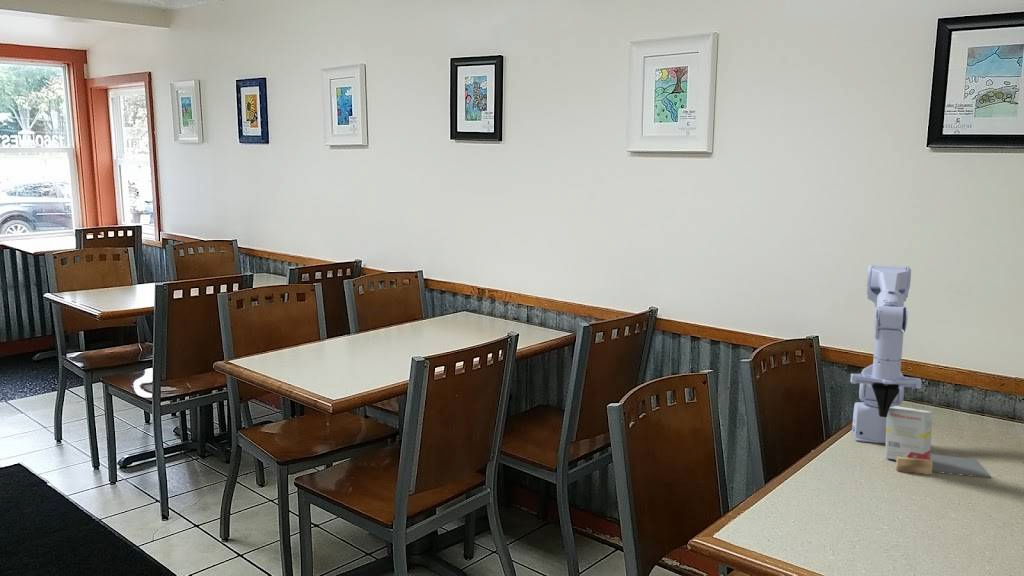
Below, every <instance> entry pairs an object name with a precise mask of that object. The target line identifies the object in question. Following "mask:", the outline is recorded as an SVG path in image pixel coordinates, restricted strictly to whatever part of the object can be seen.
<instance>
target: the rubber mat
mask: <svg viewBox="0 0 1024 576" xmlns="http://www.w3.org/2000/svg"><path fill="white" fill-rule="evenodd" d="M930 460H932V461H933V466H932V471H934V472H933V473H936V472H944V473H943V474H945V473H952V474H951V475H955V474H962V475H961V476H965V475H972V476H971V477H975V476H978V477H977V478H985V477H986V478H985V479H987V478H988V479H991V477H992V476H991V475H990V473H989V472H988V471H987V470H986V469H985V467H984V466H983V465H982V464H981V463H980V461H978V459H977V458H972V457H964V456H963V457H961V456H952V455H943V454H940V455H939V454H932V453H930Z"/></svg>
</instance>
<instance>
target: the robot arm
mask: <svg viewBox="0 0 1024 576" xmlns="http://www.w3.org/2000/svg"><path fill="white" fill-rule="evenodd" d="M866 274H867V275H866V295H867V300H869V301H871V302H873V303H874V307H875V311H874V320H873V321H874V322H873V323H874V324H873V325H874V348H873V349H874V350H873V361H872V364H870V365H868V366H866V367H865V368H863V369H862V371H861V373H850V383H851V384H854V385H855V384H859V391H858V394H859V396H858V398H859V400H860V401H861V402H859V401H857V402H854V404H853V405H854V407H853V411H852V412H853V414H852V426H851V433H852V435H853V437H854V439H855V441H857V442H866V443H877V444H885V445H886V421H887V414H888V411H889V408H890V407H894V406H900V405H901V404H903V402H904V397H905V396H904V394H905V388H915V389H917V390H918V389H919V390H920V389H922V382H923V381H922V379H921V378H917V377H908V376H904V375H903V373H902V371H901V370H902V369H901V367H902V356H903V345H904V333H906V330H907V325H908V317H909V316H908V314H909V313H908V307H907V306H906V305H905V302H907V298H908V296H909V291H910V287H911V280H912V269H911V268H910V266H907V265H906V266H898V265H897V266H896V265H894V266H893V265H878V264H876V265H875V264H874V265H873V264H871V263H870V265H868V267H867V273H866Z"/></svg>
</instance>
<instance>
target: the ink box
mask: <svg viewBox="0 0 1024 576" xmlns="http://www.w3.org/2000/svg"><path fill="white" fill-rule="evenodd" d="M932 426H933V411H929V410H922V409H917V408H911V407H904V406H900V405H897V406H894V407H890V408H889V411H888V414H887V421H886V444H885V445H886V448H885V447H884V448H885V450H884V452H885V453H884V457H885V459H888V460H894V461H895V460H896V461H897V456H898V457H908V458H918V459H928V460H930V454H931V451H932V450H931V448H932V431H933V430H932V429H933V427H932Z"/></svg>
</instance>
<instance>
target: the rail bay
mask: <svg viewBox="0 0 1024 576" xmlns="http://www.w3.org/2000/svg"><path fill="white" fill-rule="evenodd" d="M884 448H886V444H885V446H884ZM895 463H896V465H895V470H896V471H897V472H900V471H902V473H910V472H915V473H914V474H920V473H927V474H926V475H929V474H933V472H932V466H933V461H932V460H928V459H918V458H908V457H898V456H897V460H896V462H895Z"/></svg>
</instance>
